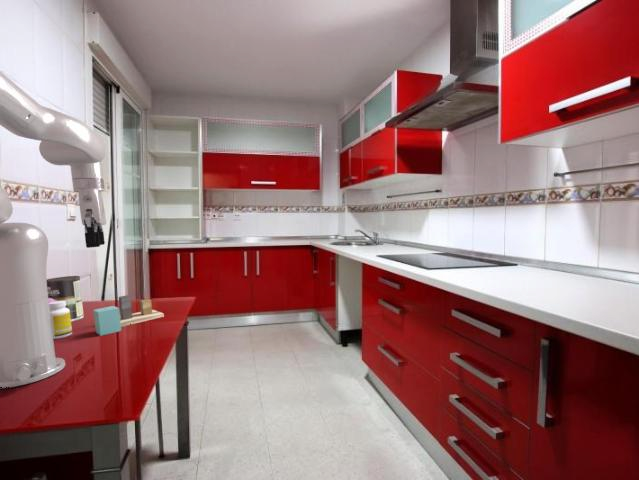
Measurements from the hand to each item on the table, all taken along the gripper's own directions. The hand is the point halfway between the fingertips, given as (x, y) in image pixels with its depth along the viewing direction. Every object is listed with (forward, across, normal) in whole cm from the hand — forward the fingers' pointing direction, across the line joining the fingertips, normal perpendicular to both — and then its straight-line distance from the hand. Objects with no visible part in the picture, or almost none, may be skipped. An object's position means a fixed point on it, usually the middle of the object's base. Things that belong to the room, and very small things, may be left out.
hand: (96, 246), depth 103 cm
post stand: (+25, +7, -8) cm, 27 cm away
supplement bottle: (+25, +1, +11) cm, 27 cm away
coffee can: (+25, +23, +14) cm, 37 cm away
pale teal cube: (+25, -3, -1) cm, 25 cm away
